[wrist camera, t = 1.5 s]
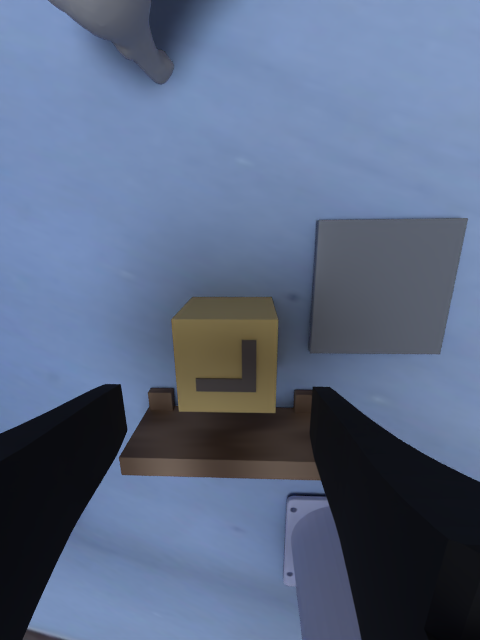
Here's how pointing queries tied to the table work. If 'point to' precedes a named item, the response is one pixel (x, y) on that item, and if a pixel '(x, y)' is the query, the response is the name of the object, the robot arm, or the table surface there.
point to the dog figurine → (122, 30)
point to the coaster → (383, 284)
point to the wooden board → (221, 442)
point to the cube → (226, 354)
